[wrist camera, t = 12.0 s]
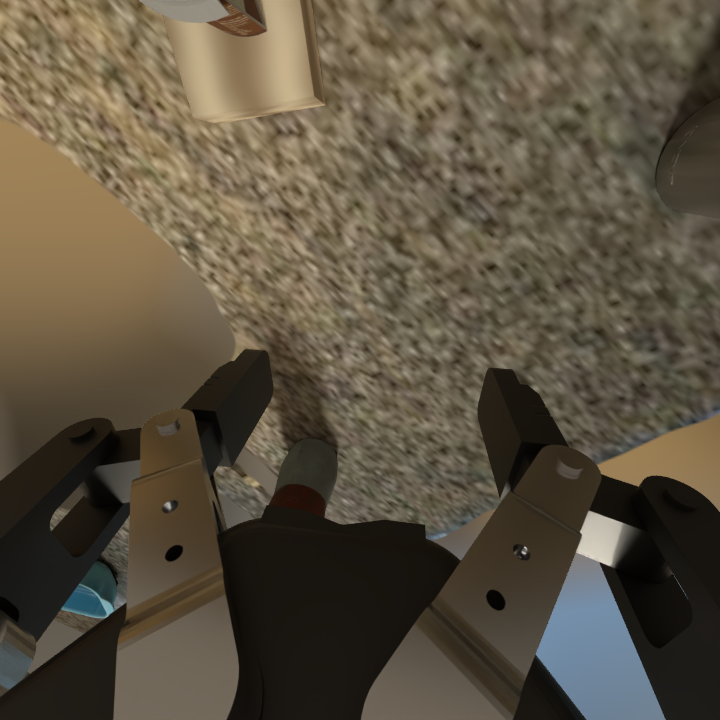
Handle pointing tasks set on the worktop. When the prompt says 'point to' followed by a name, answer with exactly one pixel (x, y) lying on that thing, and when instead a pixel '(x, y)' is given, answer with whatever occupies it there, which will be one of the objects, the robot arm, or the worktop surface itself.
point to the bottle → (307, 477)
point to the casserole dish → (94, 593)
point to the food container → (215, 14)
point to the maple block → (250, 65)
